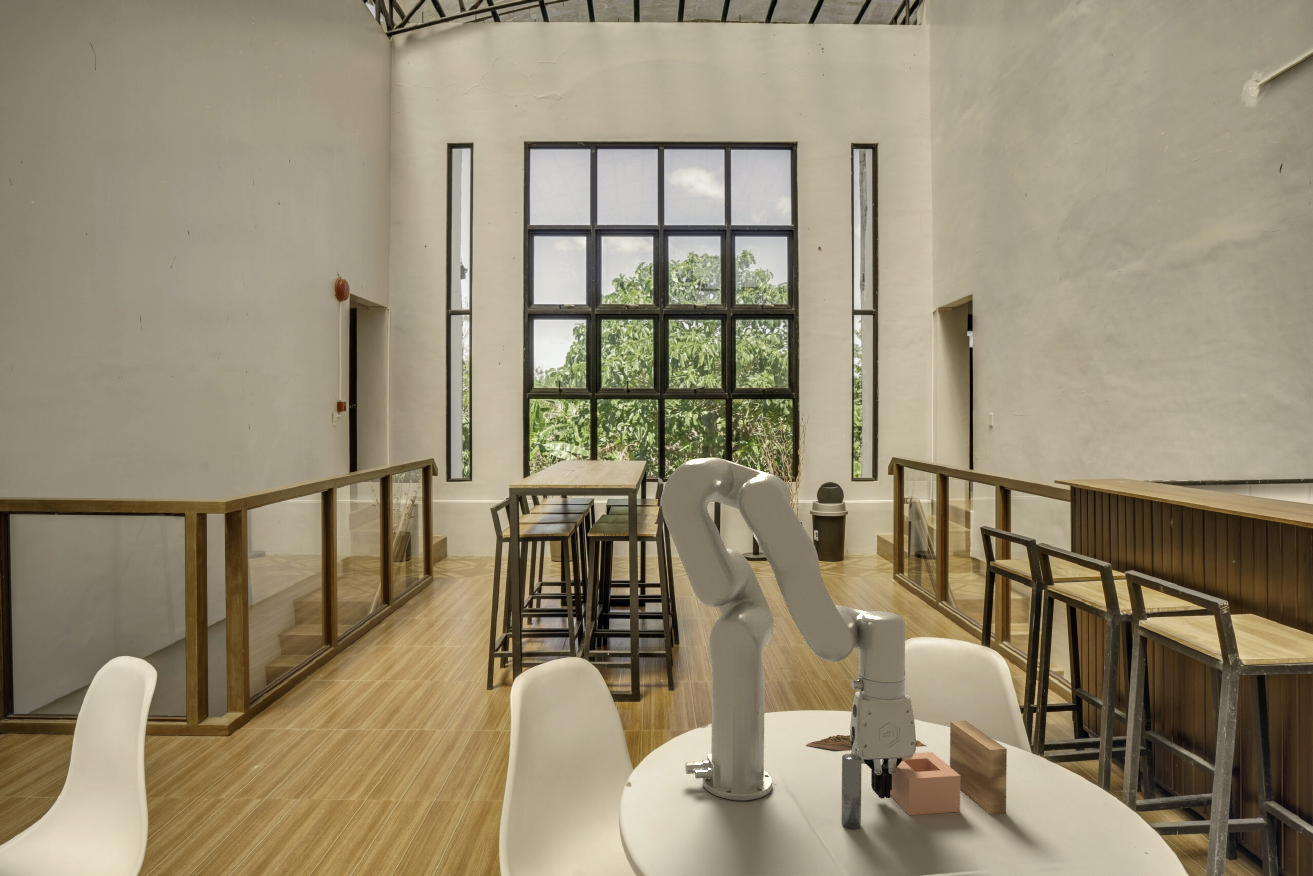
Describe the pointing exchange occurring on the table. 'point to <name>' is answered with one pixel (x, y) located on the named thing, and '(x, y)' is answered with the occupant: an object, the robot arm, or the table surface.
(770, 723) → the table surface
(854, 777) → the dowel
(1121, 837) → the table surface
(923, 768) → the block
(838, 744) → the wooden fragment
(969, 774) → the block
